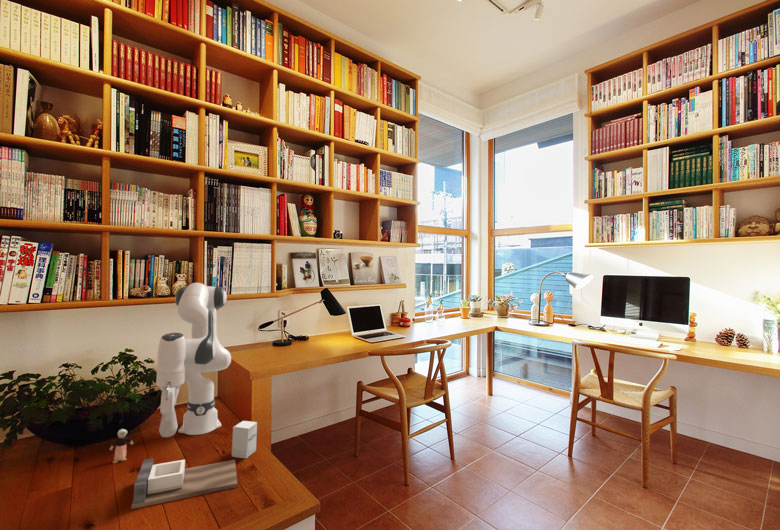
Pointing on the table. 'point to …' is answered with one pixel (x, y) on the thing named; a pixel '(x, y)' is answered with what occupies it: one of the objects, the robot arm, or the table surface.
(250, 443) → the supplement box
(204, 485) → the board
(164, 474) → the frame
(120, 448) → the grandmother figurine
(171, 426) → the salt shaker
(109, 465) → the table surface
